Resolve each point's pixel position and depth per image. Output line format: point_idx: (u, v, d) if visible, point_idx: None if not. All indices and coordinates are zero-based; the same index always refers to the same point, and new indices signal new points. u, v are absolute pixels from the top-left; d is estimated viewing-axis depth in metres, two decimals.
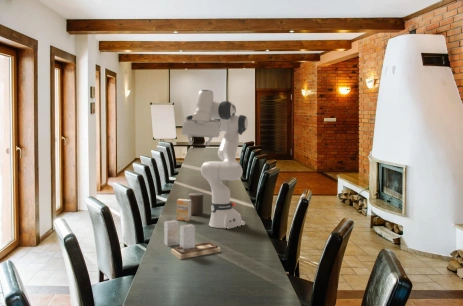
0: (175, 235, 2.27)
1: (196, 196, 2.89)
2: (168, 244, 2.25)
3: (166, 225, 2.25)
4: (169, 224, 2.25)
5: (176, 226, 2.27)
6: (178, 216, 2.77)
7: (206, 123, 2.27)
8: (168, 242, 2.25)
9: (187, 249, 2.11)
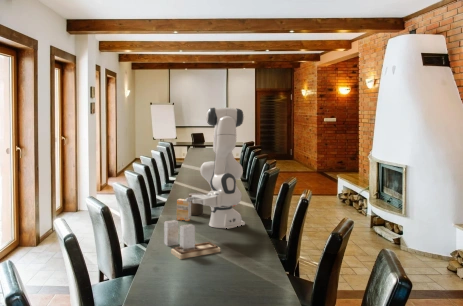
0: (175, 235, 2.27)
1: None
2: (168, 244, 2.25)
3: (166, 225, 2.25)
4: (169, 224, 2.25)
5: (176, 226, 2.27)
6: (178, 216, 2.77)
7: None
8: (168, 242, 2.25)
9: (187, 249, 2.11)
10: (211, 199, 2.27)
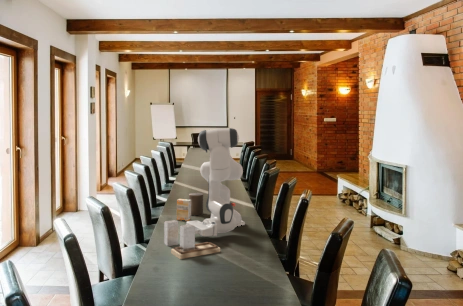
0: (175, 235, 2.27)
1: (196, 196, 2.89)
2: (168, 244, 2.25)
3: (166, 225, 2.25)
4: (169, 224, 2.25)
5: (176, 226, 2.27)
6: (178, 216, 2.77)
7: None
8: (168, 242, 2.25)
9: (187, 249, 2.11)
10: (208, 230, 2.28)
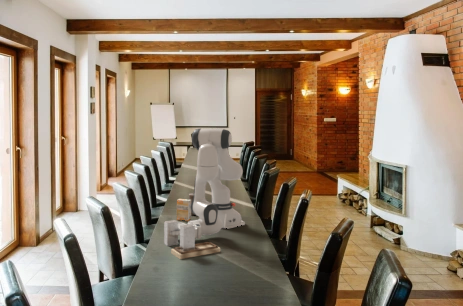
0: (175, 235, 2.27)
1: None
2: (168, 244, 2.25)
3: (166, 225, 2.25)
4: (169, 224, 2.25)
5: (176, 226, 2.27)
6: (178, 216, 2.77)
7: None
8: (168, 242, 2.25)
9: (187, 249, 2.11)
10: None
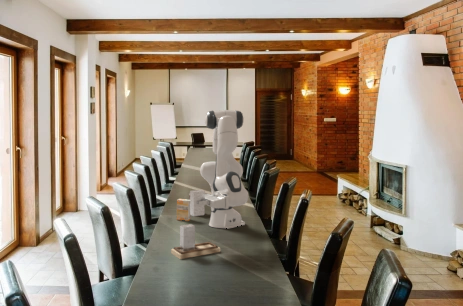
0: (201, 205, 2.17)
1: None
2: (194, 214, 2.16)
3: (193, 194, 2.15)
4: (195, 193, 2.15)
5: (202, 195, 2.17)
6: (178, 216, 2.77)
7: None
8: (194, 212, 2.15)
9: (187, 249, 2.11)
10: (220, 201, 2.13)
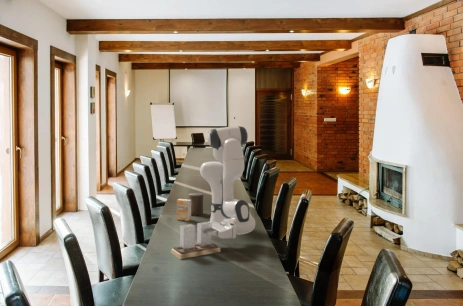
0: (208, 237, 2.17)
1: (196, 196, 2.89)
2: (202, 247, 2.15)
3: (200, 227, 2.15)
4: (203, 226, 2.15)
5: (210, 228, 2.17)
6: (178, 216, 2.77)
7: None
8: (202, 245, 2.15)
9: (187, 249, 2.11)
10: (227, 232, 2.13)
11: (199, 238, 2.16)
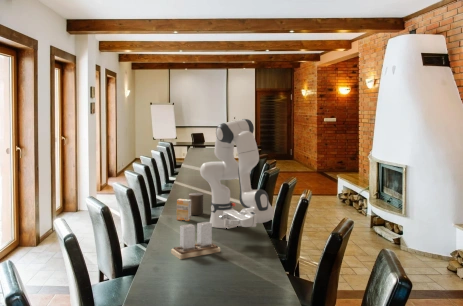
0: (208, 237, 2.17)
1: (196, 196, 2.89)
2: (202, 247, 2.15)
3: (200, 227, 2.15)
4: (203, 226, 2.15)
5: (210, 228, 2.17)
6: (178, 216, 2.77)
7: None
8: (202, 245, 2.15)
9: (187, 249, 2.11)
10: (248, 220, 2.21)
11: (199, 238, 2.16)
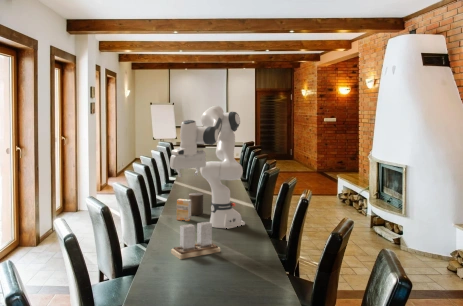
0: (208, 237, 2.17)
1: (196, 196, 2.89)
2: (202, 247, 2.15)
3: (200, 227, 2.15)
4: (203, 226, 2.15)
5: (210, 228, 2.17)
6: (178, 216, 2.77)
7: (195, 156, 2.35)
8: (202, 245, 2.15)
9: (187, 249, 2.11)
10: (170, 161, 2.30)
11: (199, 238, 2.16)
